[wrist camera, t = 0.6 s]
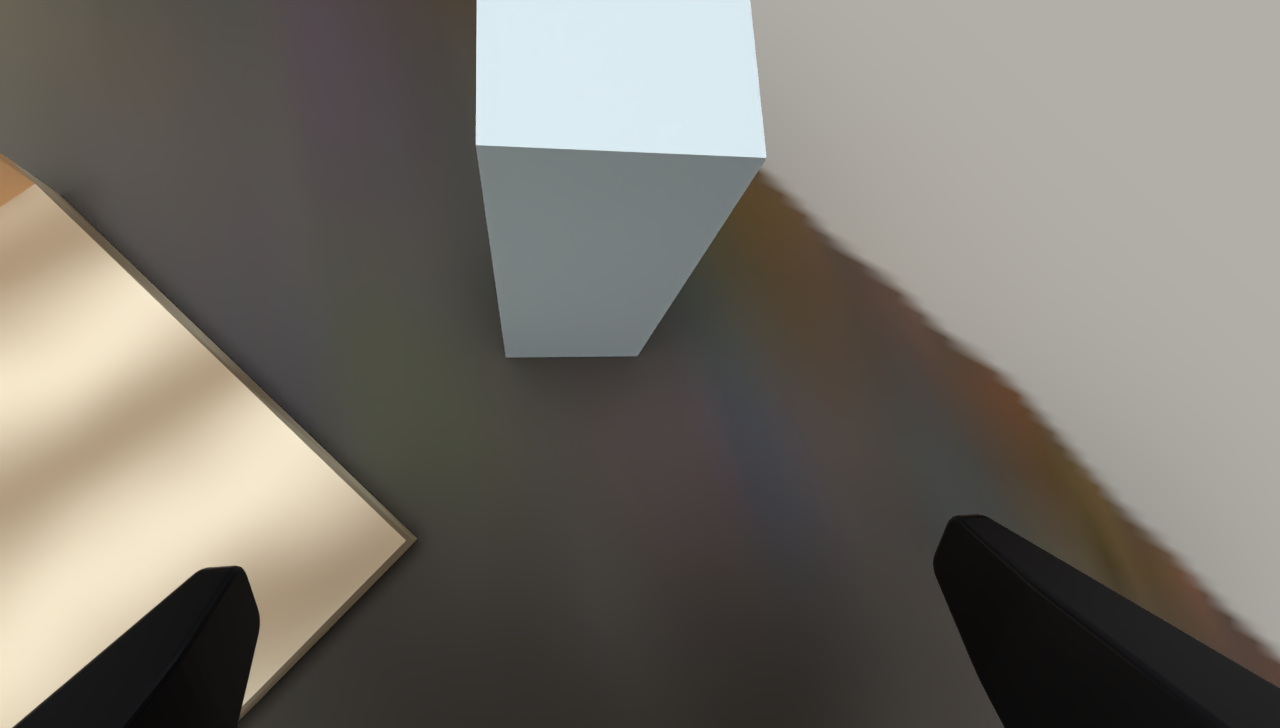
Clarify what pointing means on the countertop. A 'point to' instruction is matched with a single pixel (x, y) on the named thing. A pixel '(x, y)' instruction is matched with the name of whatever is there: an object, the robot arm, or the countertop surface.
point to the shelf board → (149, 469)
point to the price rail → (11, 180)
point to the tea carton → (608, 159)
